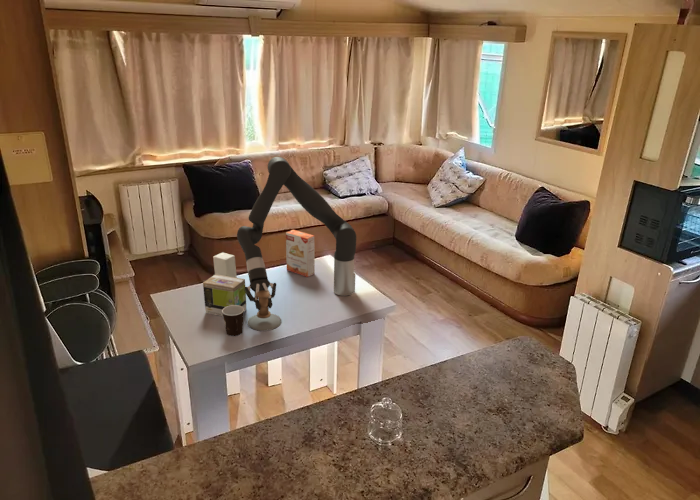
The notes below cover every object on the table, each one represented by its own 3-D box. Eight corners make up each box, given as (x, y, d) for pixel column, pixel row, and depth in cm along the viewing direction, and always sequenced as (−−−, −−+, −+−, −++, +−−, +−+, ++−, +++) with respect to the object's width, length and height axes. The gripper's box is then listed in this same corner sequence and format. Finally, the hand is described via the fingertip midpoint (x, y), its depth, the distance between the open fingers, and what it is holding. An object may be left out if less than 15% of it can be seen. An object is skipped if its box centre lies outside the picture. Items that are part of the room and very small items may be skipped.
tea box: (247, 309, 236) (245, 278, 231) (235, 319, 227) (233, 288, 222) (217, 303, 241) (215, 273, 235) (204, 313, 232) (202, 282, 226)
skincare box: (237, 285, 258) (235, 255, 252) (227, 290, 252) (225, 260, 247) (224, 281, 262) (222, 251, 256) (214, 286, 257) (212, 255, 251)
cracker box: (286, 270, 275) (285, 232, 267) (293, 266, 280) (293, 228, 272) (307, 277, 268) (307, 238, 260) (315, 273, 272) (315, 234, 265)
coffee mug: (226, 326, 222) (225, 304, 218) (247, 327, 222) (246, 305, 218) (219, 341, 211) (217, 318, 208) (241, 342, 211) (239, 319, 207)
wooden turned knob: (268, 310, 228) (268, 289, 225) (272, 317, 224) (271, 295, 220) (255, 313, 226) (254, 291, 222) (258, 319, 221) (258, 297, 218)
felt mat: (276, 311, 235) (276, 310, 235) (285, 327, 223) (285, 326, 223) (244, 317, 229) (244, 316, 229) (252, 333, 218) (252, 332, 217)
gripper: (241, 269, 221) (249, 308, 216) (274, 264, 227) (283, 303, 221) (238, 275, 228) (246, 314, 222) (271, 271, 233) (279, 308, 228)
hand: (264, 308), depth 222 cm, fingers closed on wooden turned knob, 4 cm apart
